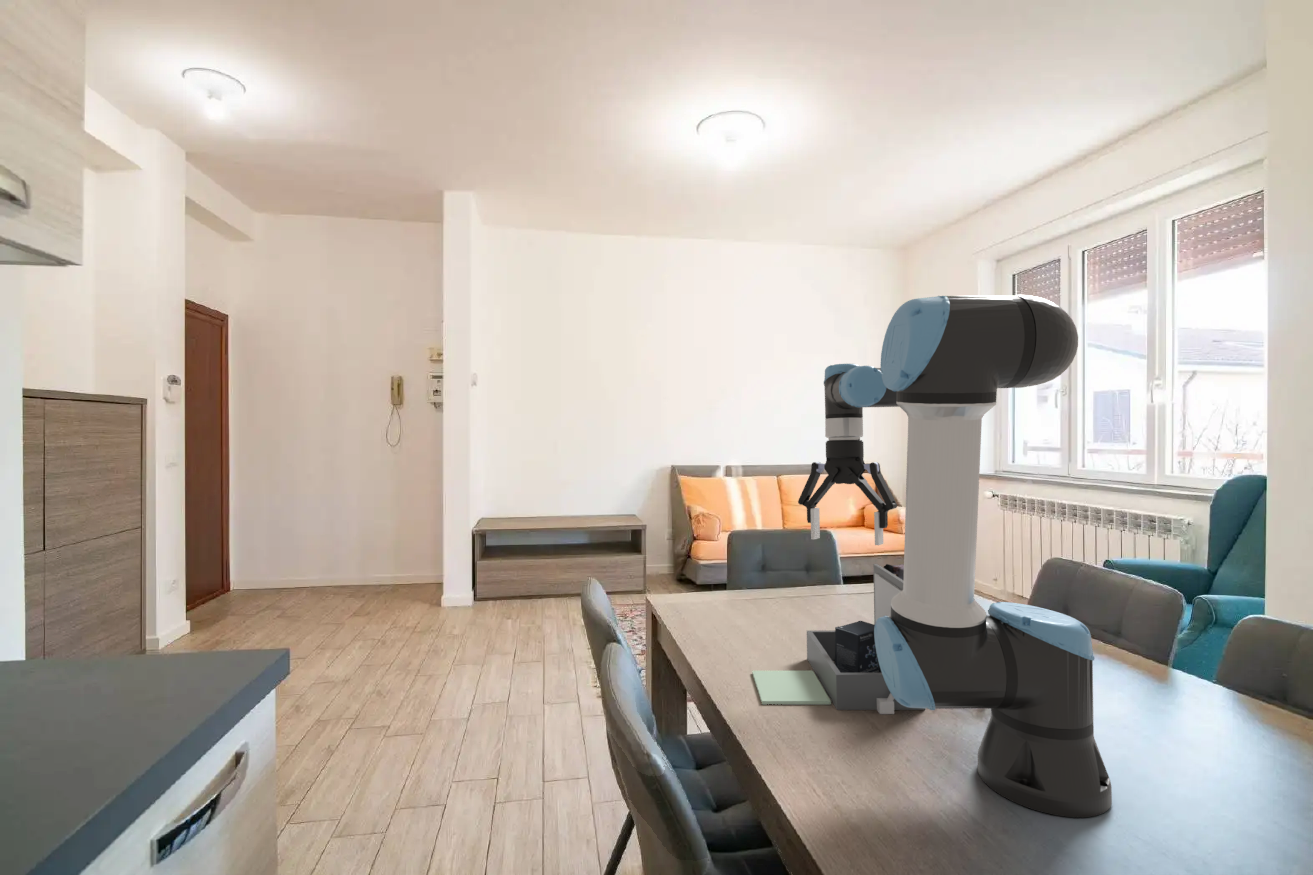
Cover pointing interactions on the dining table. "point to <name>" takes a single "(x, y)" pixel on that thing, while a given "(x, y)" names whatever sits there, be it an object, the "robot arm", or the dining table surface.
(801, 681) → the pad
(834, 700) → the case
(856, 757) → the dining table surface
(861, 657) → the box
